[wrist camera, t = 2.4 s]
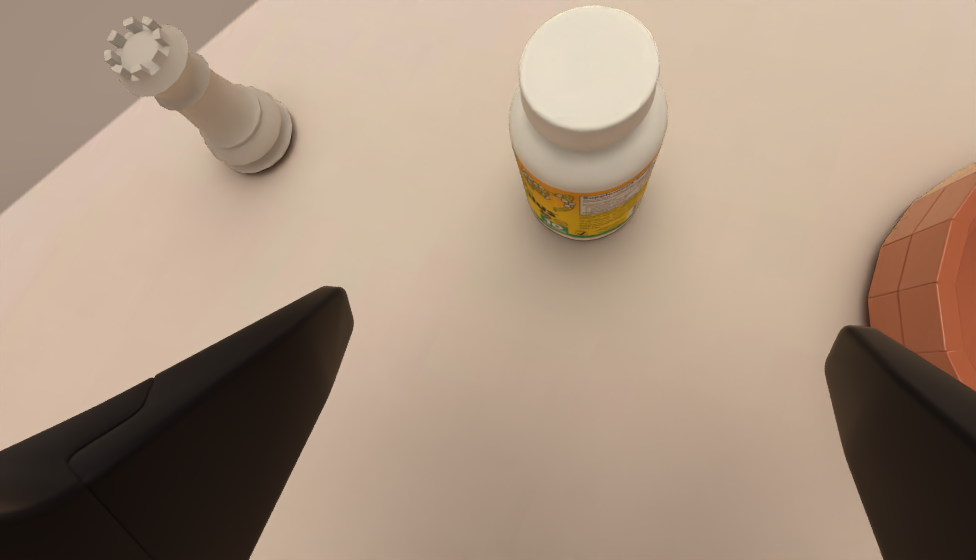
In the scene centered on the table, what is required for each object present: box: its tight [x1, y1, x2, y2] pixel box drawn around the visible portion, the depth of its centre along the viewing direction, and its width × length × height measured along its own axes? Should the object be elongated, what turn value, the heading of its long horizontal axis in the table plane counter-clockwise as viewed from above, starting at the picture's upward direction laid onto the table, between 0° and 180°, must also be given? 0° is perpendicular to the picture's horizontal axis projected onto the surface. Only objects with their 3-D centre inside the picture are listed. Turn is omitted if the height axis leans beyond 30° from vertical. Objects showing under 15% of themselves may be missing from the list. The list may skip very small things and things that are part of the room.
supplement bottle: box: [509, 6, 668, 240], centre depth 19 cm, size 5×5×10 cm
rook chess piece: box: [104, 16, 292, 173], centre depth 23 cm, size 4×4×8 cm
